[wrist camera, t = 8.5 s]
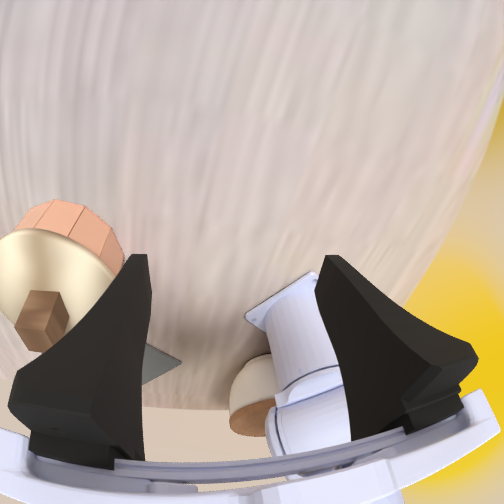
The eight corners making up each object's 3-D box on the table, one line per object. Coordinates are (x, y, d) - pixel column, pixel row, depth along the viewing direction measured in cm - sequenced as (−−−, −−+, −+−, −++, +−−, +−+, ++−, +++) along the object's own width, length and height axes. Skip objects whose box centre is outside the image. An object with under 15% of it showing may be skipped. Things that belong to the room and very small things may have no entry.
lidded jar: (323, 341, 34) (345, 412, 27) (294, 384, 40) (308, 443, 33) (231, 341, 32) (241, 422, 24) (219, 385, 38) (225, 450, 31)
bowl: (146, 254, 23) (138, 294, 20) (86, 311, 26) (76, 348, 23) (50, 176, 18) (23, 206, 14) (6, 253, 21) (-14, 286, 17)
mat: (181, 361, 33) (181, 363, 33) (122, 393, 37) (122, 395, 37) (84, 306, 26) (84, 308, 26) (42, 352, 30) (41, 354, 29)
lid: (111, 226, 16) (92, 275, 13) (138, 348, 24) (134, 392, 20) (-30, 230, 14) (-59, 268, 11) (22, 338, 21) (10, 375, 18)
